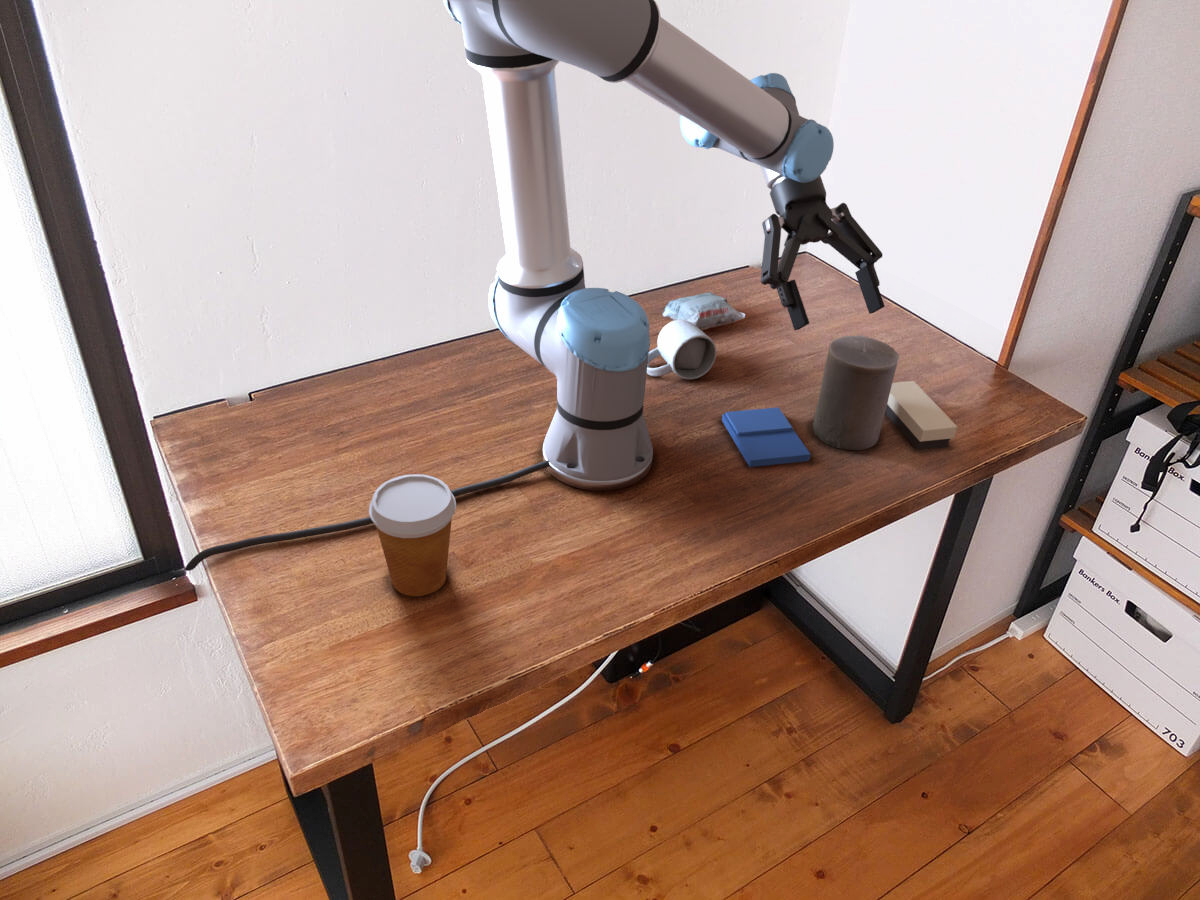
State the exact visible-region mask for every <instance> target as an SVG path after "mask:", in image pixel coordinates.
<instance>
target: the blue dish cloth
mask: <svg viewBox="0 0 1200 900" xmlns="http://www.w3.org/2000/svg"><path fill="white" fill-rule="evenodd" d="M721 421H722V423H723V425H724V427H725V429H726V430H727V432H728V433H729V435H730V437H731V438H732V440H733V442H734V443H735V445H736V447H737V448H738V450H739V452H740V454H741V455H742V457H743V459H744V461H745V462H746V463H747V465H748V468H755V467H763V466H774V465H783V464H784V465H785V464H793V463H803V462H804V463H805V462H810V459H811V456H812V455H811V453H810V451H809V449H808V448H807V447H806V445H805V444H804V442H803V441H802V440H801V438H800V437H799V435H798V433H797V432H796V431H795V430H794V428H793V426H792V425H791V423H790V422H789V420H788V419H787V417H786V416H785V414H784V413H783V411H782V410H781V409H780V407H778V406H777V407H767V408H753V409H743V410H735V411H734V410H731V411H725V413H722V416H721Z"/></svg>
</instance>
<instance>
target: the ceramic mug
mask: <svg viewBox="0 0 1200 900" xmlns="http://www.w3.org/2000/svg"><path fill="white" fill-rule="evenodd" d="M656 339H657V340H656V345H657V346H656V347H655V348H653V349H651V350H649V354H648V364H647V375H649V376H651V377H661V376H665V375H667V374H671V373H672V372H673V373H674V374H675V375H676V376H677V377H678V378H680V379H683V380H696V379H699V378H701V377H703V376H705V374H707V373H708V372H709V371H710V370H711V369H712V367H713V365H714V364H715V362H716V358H717V346H716V344H715V342H714V340H713V339H712V338H711V337H710V336H708V335H707V334H706V333H705V332H704V330H702V331H701V330H700V329H699V328H698V327H697V326H696V325H694V324H693V323H691V322H689V321H687V320H682V319H678V320H674V319H672V320H671V321H669V322H668V323H666V324H665V325H664V326H663V327H662V328H661V329H660V331H659V333H658V335H657V338H656ZM659 356H661V357H662V358H663V359H664V361H665V362H666V363H667V364H665V365H664V364H663V365H661V366H659V367H650V363H651V362H652V361H653V360H654V359H656V358H657V357H659Z"/></svg>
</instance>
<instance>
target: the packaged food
mask: <svg viewBox="0 0 1200 900" xmlns="http://www.w3.org/2000/svg"><path fill="white" fill-rule="evenodd" d="M662 317H665V318H666V317H669V318H670V319H672V320H678V319H682V320H687V321H689V322H691V323H693V324H694V325H696V326H697V327H698V328H699V329H700V330H701V331H704V330H708V329H715V328H718V327H721V326H725V325H730V324H733V323H735V322H737V321H738V322H739V321H740V320H744V319H745V317H746V314H745V313H744V312H741V311H739V310H736V309H735V308H734V307H732V305H730V304H729V301H728V299H727V298H725V297H722V296H720V295H717V294H715V293H713V292H710V291H709V292H708V291H707V292H705V293H700V294H696V295H690V296H683V297H679V298H676V299H672V300H670V301H669V302H668V303H667V304H666V305H665V307H664V310H663V311H662Z"/></svg>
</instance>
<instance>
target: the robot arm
mask: <svg viewBox="0 0 1200 900" xmlns="http://www.w3.org/2000/svg"><path fill="white" fill-rule="evenodd" d="M442 3H443V5H444V7H445V9H446V11H447V12H448V13H449V15H450V16H451V18H452V19H453V20H454V21H455V22H456V23H457V24H459V25H461V30H462V35H463V37H462V38H463V45H464V50H465V58H466V62H467V63H468V65H469V66H471V67H472V68H473V69H475V70H476V71H477V72H478V73H480V75H481V78H482V83H483V84H482V85H483V91H484V100H485V106H486V114H487V115H486V116H487V121H488V122H487V123H488V128H489V129H488V130H489V136H490V143H491V150H492V158H493V165H494V173H495V180H496V188H497V193H498V194H497V196H498V202H499V203H498V204H499V210H500V218H501V223H502V231H503V232H502V233H503V240H504V246H505V255H504V256H503V257H502V258H501V259H500V260H499V261H498V263H497V266H496V274H495V276H494V279H495V281H494V282H493V283H491V284H490V287H489V290H488V291H489V292H488V300H487V301H488V309H489V313H490V316H491V319H492V321H493V322H494V324H495V326H496V327H497V328H498V329H499V330H500V332H501V333H502V334H503V336H504V337H506V339H508V340H509V341H510V342H511V343H512V344H514V345H515V346H517V347H519V348H520V349H521V350H523V351H524V352H525V353H526V354H528V355H529V356H530V357H532V358H533V359H534V360H535V361H536V362H538V363H539V364H541V365H542V366H543V367H544V368H546V370H548V371H549V372H550V373H552V374H553V375H554V376H555V378H556V383H557V385H556V410H555V412H554V415H553V418H552V420H551V422H550V425H549V428H548V429H547V432H546V434H545V437H544V440H543V444H542V461H540V462H538V463H535V464H532V465H529V466H527V467H525V468H522V469H520V470H517V471H514V472H511V473H509V474H506V475H503V476H500V477H497V478H494V479H490V480H486V481H485V480H484V481H481V482H476V483H474V484H473V483H472V484H470V485H465V486H462V487H458V488H455V489H451V490H450V491H451V493H452V494H453V496H454V497H455V498H456V497H458V496H462V495H466V494H470V493H473V492H478V491H481V490H485V489H490V488H494V487H496V486H500V485H503V484H507V483H509V482H510V483H511V482H513V481H515V480H517V479H520V478H523V477H525V476H527V475H530V474H533V473H536V472H538V471H541V470H543V469H546V470H547V471H548V473H549V474H550V475H551V476H553V477H554V478H555V479H556V480H557V481H560V482H562V483H563V484H565V485H567V486H571V487H573V488H577V489H582V490H587V491H595V492H596V491H598V492H601V491H602V492H603V491H605V492H606V491H615V490H619V489H622V488H623V489H624V488H627V487H630V486H632V485H634V484H636V483H638V482H640V481H641V480H643V478H645V477H646V476H647V475H648V473H649V472H650V470H651V468H652V465H653V457H654V455H653V454H654V449H653V443H652V440H651V436H650V433H649V429H648V426H647V423H646V421H647V419H646V418H645V415H644V403H645V393H646V384H647V383H646V382H647V375H648V374H647V364H648V354H649V352H650V348H651V338H650V322H649V318H648V315H647V313H646V311H645V310H644V308H643V306H642V305H641V304H639V302H637V301H636V300H635V299H633V298H632V297H631V296H630V295H627V294H625V293H622V292H620V291H617V290H615V291H610V290H609V288H605V287H603V288H602V287H586V280H585V271H584V269H585V268H584V261H583V258H582V255H581V254H580V253H579V252H578V251H577V250H575V249H573V248H572V247H571V240H570V239H571V238H570V228H569V215H568V206H567V205H568V204H567V194H566V193H567V192H566V183H565V182H566V181H565V171H564V161H563V149H562V136H561V126H560V116H559V115H560V114H559V103H558V93H557V92H558V91H557V81H556V70H555V69H556V66H557V65H558V64H559V62H561V63H565V64H568V65H571V66H574V67H577V68H579V69H582V70H584V71H587V72H589V73H591V74H593V75H595V76H597V77H598V78H600V79H602V80H603V81H604V82H607V83H612V84H616V83H621V82H625V83H627V84H629V85H630V86H632V87H633V88H635V89H637V90H639V91H640V92H641V93H643V94H645V95H647V96H648V97H650V98H652V99H653V100H655V101H657V102H658V103H660V104H662V105H663V106H665V107H667V108H668V109H670V110H672V111H673V112H675V113H677V114H678V115H680V116H679V127H680V128H679V129H680V131H681V134H682V137H683V139H684V140H685V142H686V143H688V145H690V146H692V147H695V148H703V149H705V150H709V149H712V148H715V149H719V150H722V151H724V152H726V153H729V154H731V155H733V156H736V157H738V158H741V159H743V160H745V161H748V162H749V163H753V164H755V165H758V166H760V168H761V172H762V175H763V178H764V181H765V184H766V187H767V188H768V189H769V190H770V192H769V196H770V199H771V202H772V205H773V208H774V211H775V213H772V214H771V215H770V216H768V217H767V218H766V219H765V220H763V222H762V223H761V226H762V230H763V234H764V240H763V241H764V242H763V251H762V261H761V270H760V271H761V272H760V283H761V284H762V285H764V286H766V285H769V287H770V289H772V290H776V291H777V294H778V298H779V300H780V304H781V305H782V307H783V308H786V309H787V312H788V315H789V318H790V321H791V324H792V327H793V331H799V330H801V329H803V328H805V327H806V326H808V325H810V320H809V317H808V314H807V311H806V309H805V306H804V303H803V300H802V296H801V294H800V291H799V288H798V285H797V282H796V279H790V277H791V274H792V271H793V268H794V265H795V262H796V259H797V256H798V253H799V251H800V249H801V246H803V245H807V244H809V243H813V244H814V243H819V242H822V243H823V244H825V245H829V246H830V247H832V249H834V250H835V251H836V252H838V254H840V255H841V256H843V257H844V258H845V260H847V261H849V262H850V263H851V264H852V265H853V266H854V267H856V268H857V269H858V270H857V271H855V277H856V280H857V282H858V285H859V288H860V291H861V294H862V297H863V300H864V302H865V305H866V308H867V312H868V314H870V315H871V314H874V313H876V312H878V311H879V310H881V309H883V308H885V307H886V305H885V302H884V300H883V297H882V293H881V291H880V288H879V286H880V279H879V277H878V274H877V270H876V267H875V263H877V262H878V261H879V260H880V259H882V258H883V252H882V251H881V250H880V248H879V247H878V246H877V245H876V243H875V242H874V241H873V239H872V238H870V236H869V235H868V234H867V233H866V231H865V230H864V229H863V228H862V227H861V225H860V224H859V223H858V221H857V220H856V219H855V218H854V217H853V216H852V214H851V212H850V209H849V207H848V204H847V203H846V202H841V203H840V204H839V205H837V206H836V207H832V208H830V207H829V205H828V204H827V191H826V189H825V185H824V182H823V179H822V176H821V175H822V174H823V173H824V172H825V171H826V169H827V166H828V165H829V162H830V161H831V160H832V157H833V153H834V148H835V147H834V146H835V145H834V136H833V133H832V132H831V130H830V129H829V128H828V127H826V126H825V125H822V124H820V123H818V122H817V121H816V120H814V119H813V118H812V119H811V118H810V119H808V118H806V117H804V116H801V115H800V112H799V110H798V106H797V101H796V100H797V99H796V97H795V96H794V93H793V91H792V90H791V87H790V85H789V83H788V80H787V78H786V77H785V76H784V75H782V74H780V73H776V72H770V73H767V74H765V75H763V74H761V75H758V76H755V77H753V78H752V79H749V78H748V77H746V76H744V75H743V74H742V73H740V72H739V71H737V70H736V69H735V68H733V67H732V66H730V65H729V64H728V63H726V62H725V61H724V60H722V59H721V58H719V57H718V56H716V55H715V54H713V53H712V52H711V51H709V50H708V49H707V48H705V47H704V46H702V45H701V44H699V43H698V42H697V41H695V40H694V39H693V38H691V37H690V36H688V35H687V34H686V33H684V32H683V31H681V30H680V29H679V28H677V27H676V26H674V25H673V24H672V23H670V22H668V20H666V19H664V18H663V17H662V16H661V11H660V8H659V5H658V4H657V2H656V0H442ZM782 230H783V231H785V232H786V233H787V235H786V239H785V241H784V244H783V246H784V248H783V250H782V253H781V255H780V248H781V237H782ZM779 258H780V259H779ZM789 279H790V280H789ZM373 524H374V522H373V521H372V520H371V518H370V516H366V517H363V518H358V519H354V520H349V521H344V522H340V523H335V524H329V525H323V526H318V527H311V528H305V529H300V530H293V531H288V532H282V533H281V532H280V533H275V534H267V535H261V536H256V537H251V538H247V539H241V540H238V541H233V542H229V543H224V544H220V545H216V546H212V547H209V548H206V549H204V550H201V551H200V552H198V553H197V554H196V555H195V556H194V557H192V558H191V559H190V561H188V563H187V564H186V565H185V568H184V570H185V571H186V572H190V571H193V570H194V569H196V567H197V566H198V565H199V564H200V563H201V562H203V561H204V560H206V559H207V558H209V557H212V556H216V555H218V554H222V553H228V552H232V551H237V550H241V549H245V548H249V547H253V546H254V547H255V546H258V545H264V544H269V543H278V542H285V541H291V540H296V539H302V538H307V537H309V538H310V537H314V536H318V535H319V536H320V535H325V534H333V533H336V532H342V531H346V530H352V529H355V528H360V527H361V528H362V527H365V526H368V525H373Z"/></svg>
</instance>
